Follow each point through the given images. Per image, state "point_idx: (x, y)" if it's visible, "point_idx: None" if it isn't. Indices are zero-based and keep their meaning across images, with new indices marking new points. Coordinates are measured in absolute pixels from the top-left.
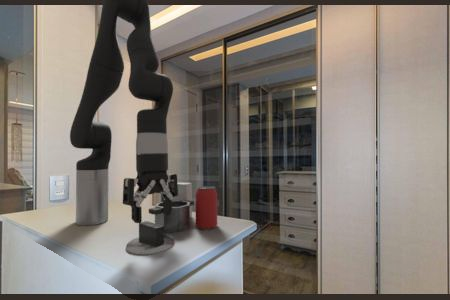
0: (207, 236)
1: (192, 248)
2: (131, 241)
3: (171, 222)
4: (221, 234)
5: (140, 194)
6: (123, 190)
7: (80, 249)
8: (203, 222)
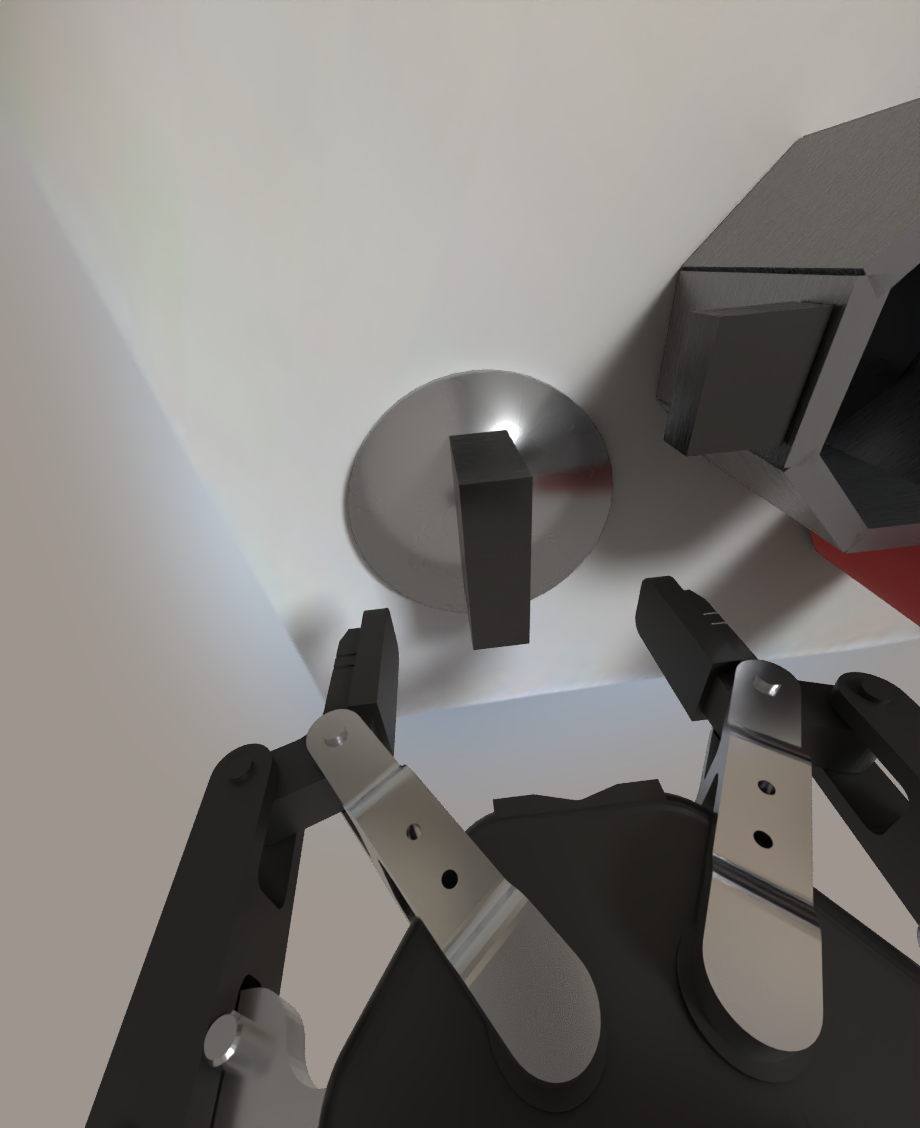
0: (714, 604)
1: (567, 650)
2: (408, 412)
3: (726, 458)
4: (762, 625)
5: (381, 877)
6: (155, 943)
7: (56, 203)
8: (837, 556)
